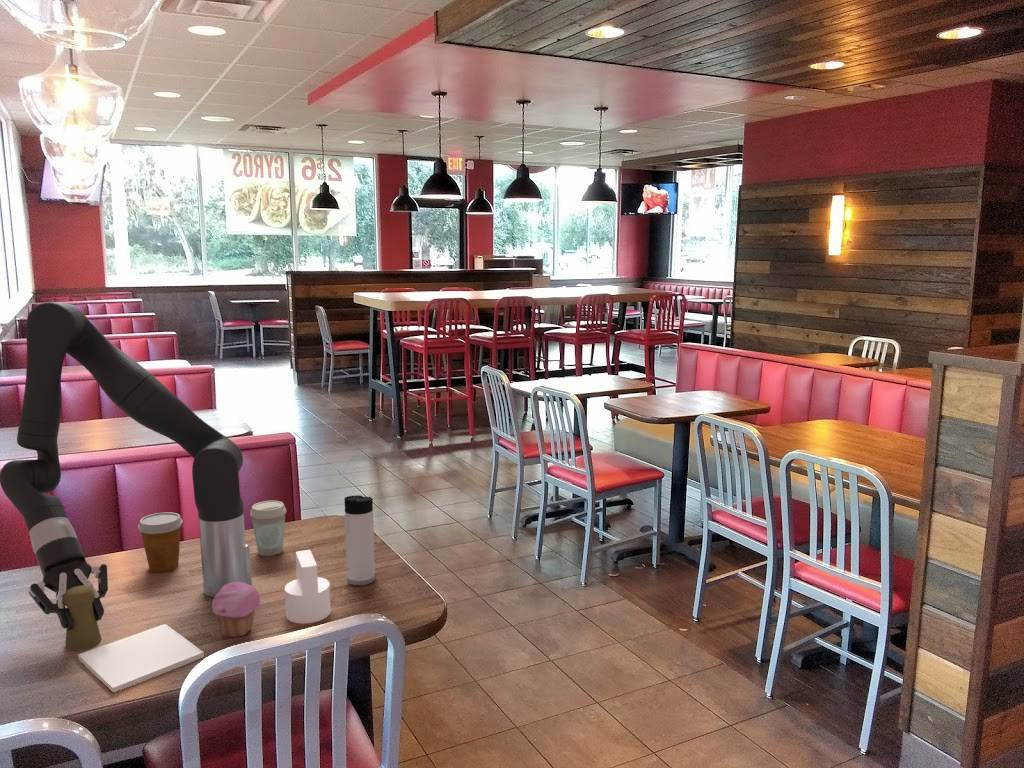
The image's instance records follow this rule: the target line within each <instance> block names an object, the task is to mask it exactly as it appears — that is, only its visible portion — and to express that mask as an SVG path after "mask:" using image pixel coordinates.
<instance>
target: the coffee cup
mask: <svg viewBox="0 0 1024 768" xmlns="http://www.w3.org/2000/svg"><path fill="white" fill-rule="evenodd" d="M249 511H250V514H249V516H250V517H251V521H252V526H253V533H254V537H255V544H256V548H257V553H258V555H260V556H261V557H262V556H263V557H270V556H276V554H277V555H279V554H281V553H282V552H283V549H284V535H285V534H284V533H285V522H286V521H285V520H286V514H287V508H286V507H285V504H284V503H283V502H282V501H280V500H264V501H259V502H257V503H254V504H253V505H252V506H251V509H250V510H249Z"/></svg>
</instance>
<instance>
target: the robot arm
mask: <svg viewBox="0 0 1024 768" xmlns="http://www.w3.org/2000/svg"><path fill="white" fill-rule="evenodd" d="M25 323H26V327H25V328H26V331H25V332H26V370H25V371H26V372H25V373H26V374H25V383H24V384H25V385H24V393H23V400H22V406H21V412H20V418H19V423H18V429H17V430H18V431H17V435H16V443H17V444H18V446H19V447H21V448H23V449H27V450H31V451H36V454H37V457H36V458H37V459H15V460H11V461H8V462H7V463H5V464H4V465H3V466H2V467H1V470H0V487H1V490H2V492H3V493H4V494H5V496H6V497H7V499H8V500H9V501H10V502H11V503H12V504H13V506H14V507H15V508H16V509H17V511H18V512H19V513H20V514H21V515H22V518H23V520H24V522H25V525H26V528H27V530H28V533H29V537H30V542H31V547H32V551H33V553H34V555H35V557H36V560H37V562H38V566H39V569H40V571H41V574H42V581H39V582H38V583H32V584H31V585H30V587H29V590H28V594H29V596H30V597H31V598H32V599H33V601H34V603H36V604H37V606H38V607H39V608H40V609H41V611H42V612H43V613H44V614H45V615H50V614H56V615H57V616H58V619H59V622H60V625H61V627H62V628H63V629H67V631H68V630H71V629H72V628H73V622H72V619H71V616H70V614H69V611H68V608H67V607H66V606H65V604H64V600H63V597H64V594H65V592H66V591H67V590H68V589H70V588H72V587H75V586H81V585H86V586H90V587H91V588H92V589H93V590H94V593H95V597H94V600H93V602H92V605H93V608H94V612H95V616H96V621H97V622H99V621H101V620H102V618H103V616H104V613H105V609H104V607H103V604H102V602H101V601H102V600H101V599H102V598H105V596H106V594H107V592H108V591H109V590H108V589H109V586H108V585H109V583H108V582H109V580H108V566H107V564H105V563H102V564H101V565H100V566H92V565H91V564H89V563H88V561H87V560H86V557H85V555H84V552H83V550H82V547H81V543H80V542H79V539H78V536H77V534H76V531H75V529H74V527H73V525H72V523H71V522H70V520H69V517H68V515H67V512H66V509H65V507H64V504H63V502H62V500H61V499H60V497H58V496H56V495H52V494H49V493H52V492H53V491H54V490H55V489H56V488H58V486H59V483H60V482H61V478H62V470H61V463H60V458H59V456H60V455H59V447H58V436H59V430H60V425H61V418H62V410H63V408H62V407H63V399H62V398H63V397H62V396H63V395H62V373H63V372H62V371H63V366H64V365H63V364H64V361H65V357H66V355H69V356H70V357H72V358H73V359H74V360H75V361H76V362H77V363H79V364H80V365H81V366H83V367H84V368H85V369H86V370H87V371H88V373H90V374H91V376H92V377H93V379H94V380H95V381H96V383H97V384H98V385H99V387H100V388H101V390H102V391H103V392H104V393H105V395H106V396H107V397H108V398H109V399H110V400H111V402H112V403H113V404H114V405H116V406H117V407H118V408H119V409H121V410H122V412H124V413H125V414H127V416H129V417H130V418H131V419H132V420H134V421H135V422H137V424H140V425H141V426H143V427H145V428H147V429H149V430H151V431H152V432H155V433H156V434H160V435H161V436H163V437H166V438H168V439H170V440H171V441H173V442H174V443H176V444H177V445H178V446H180V447H181V448H182V449H183V450H184V451H186V453H188V454H189V455H190V456H191V457H192V459H193V461H192V466H191V467H192V471H191V473H192V474H191V475H192V484H193V485H192V486H193V496H194V504H195V507H196V509H197V517H198V528H199V541H200V543H199V544H200V555H201V556H200V557H201V569H202V586H203V594H204V595H205V596H208V597H210V598H215V595H216V594H217V593H218V592H219V591H220V589H221V588H222V587H223V586H224V585H226V584H228V583H232V582H242V583H245V584H248V585H251V586H253V583H252V582H253V580H252V566H251V565H252V564H251V563H252V561H251V549H250V545H249V544H247V543H246V530H245V515H244V513H245V512H244V511H245V510H244V501H243V499H242V498H241V492H240V479H239V477H240V476H239V474H240V473H239V472H240V471H241V469H242V467H243V464H244V457H243V456H244V455H243V452H242V451H241V448H240V447H239V446H238V445H237V444H236V443H235V441H234V442H233V441H232V440H231V439H230V438H228V437H227V436H225V435H224V434H222V433H221V432H220V431H218V430H216V429H215V428H214V427H212V426H211V425H210V424H208V423H207V422H206V421H204V420H203V419H202V418H200V417H199V416H198V415H197V413H195V412H194V411H193V410H192V409H191V408H190V407H189V406H187V404H186V403H184V402H183V401H182V400H181V399H180V398H179V397H178V396H176V395H175V394H174V393H173V392H172V391H171V390H170V389H169V388H168V387H167V386H165V384H164V383H162V382H161V381H160V380H159V379H157V377H156V376H154V375H153V374H152V373H151V372H150V371H148V370H147V369H146V368H144V367H143V366H142V365H141V364H139V363H138V362H137V361H136V360H134V358H131V356H129V355H128V354H126V353H125V352H124V351H122V350H121V349H119V347H117V346H116V345H115V344H113V343H112V341H110V340H109V339H108V338H107V337H106V336H105V335H104V334H103V332H101V331H100V330H99V329H98V328H97V327H96V325H94V323H93V322H92V321H91V320H90V319H89V318H88V317H87V316H86V315H85V314H84V313H83V312H82V311H81V310H80V309H79V308H78V307H77V306H75V305H73V304H71V303H69V302H66V301H46V302H42V303H39V304H37V305H36V306H34V307H33V308H32V309H31V310H30V312H29V313H28V315H27V317H26V322H25ZM91 574H92V575H93V577H94V578H95V579H97V585H98V586H97V589H98V590H96V589H95V587H94V585H93V583H92V582H91V581H90V576H91ZM46 589H49V591H50V590H51V591H52V592H53V593H55V603H53V602H52V600H50V598H49V597H48V595H46V593H45V591H46Z"/></svg>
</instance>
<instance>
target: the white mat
mask: <svg viewBox="0 0 1024 768" xmlns="http://www.w3.org/2000/svg"><path fill="white" fill-rule="evenodd" d="M77 658H78V661H79V660H80V661H79V662H80V663H81V664H82V663H83V664H84V665H85V668H86V669H88V670H89V671H90V672H91V673H92V675H94V676H95V677H96V678H97V680H99V681H100V680H101V681H102V682H103V683H104V684H105V685H106V686H107V687H108V688H109V689H110V690H111V691H112V692H115V693H117V692H116V691H118V690H120V691H122V689H123V690H125V689H127V687H128V688H130V687H133V686H135V685H137V683H138V684H140V683H143V682H145V681H148V680H150V679H153V678H155V677H158V676H160V675H163V674H166V673H168V672H171V671H173V670H175V669H178V668H180V667H183V666H185V665H188V664H190V663H193V662H195V661H198V660H201V659H203V658H205V655H204V651H203V650H202V649H200V648H198V646H196V645H195V644H193V643H192V642H191V641H190V640H188V639H187V638H185V637H184V636H183V635H181V634H180V633H179V632H177V631H176V630H174V629H172V628H171V626H169V625H168V624H166V623H164V624H161V625H158V626H155V627H152V628H149V629H147V630H144V631H140V632H138V633H134V634H133V635H129V636H127V637H123V638H121V639H117V640H115V641H113V642H112V641H111V642H110V643H108V644H104V645H102V646H99V647H95V648H93V649H89V650H87V651H83V652H82V653H78V654H77ZM83 664H82V665H83ZM84 665H83V666H84ZM152 677H153V678H152ZM101 681H100V682H101ZM102 682H101V683H102ZM103 683H102V684H103ZM104 684H103V685H104ZM105 685H104V686H105ZM132 685H133V686H132ZM106 686H105V687H106ZM129 686H130V687H129ZM107 687H106V688H107ZM108 688H107V689H108ZM124 688H125V689H124ZM109 689H108V690H109ZM111 691H110V692H111ZM118 692H119V691H118Z"/></svg>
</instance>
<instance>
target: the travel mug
mask: <svg viewBox="0 0 1024 768" xmlns="http://www.w3.org/2000/svg"><path fill="white" fill-rule="evenodd" d="M343 500H344V531H345V533H344V535H345V536H344V537H345V558H346V559H345V560H346V581H347V583H348V584H349V585H353V586H357V585H358V586H367V585H369V583H370V584H371V583H373V582H374V581H375V580H376V569H375V568H376V565H375V530H374V524H375V523H374V507H373V504H374V503H373V497H372V496H363V495H348V496H346V497H344V499H343ZM366 584H367V585H366Z"/></svg>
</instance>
